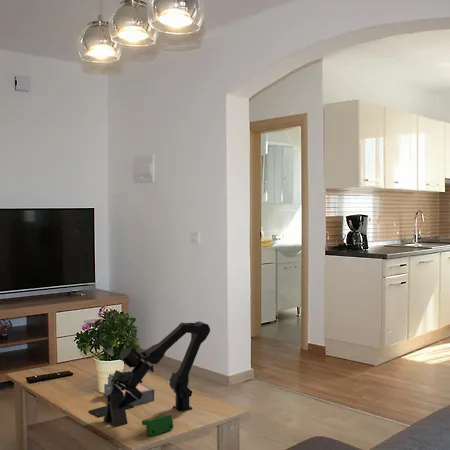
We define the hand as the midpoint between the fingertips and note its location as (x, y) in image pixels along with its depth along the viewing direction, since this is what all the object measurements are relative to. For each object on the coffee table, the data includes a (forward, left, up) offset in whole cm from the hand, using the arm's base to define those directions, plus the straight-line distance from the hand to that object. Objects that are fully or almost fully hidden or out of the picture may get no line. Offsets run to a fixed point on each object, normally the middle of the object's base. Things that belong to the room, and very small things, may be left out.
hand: (113, 405), depth 234 cm
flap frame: (+24, -20, -7) cm, 32 cm away
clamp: (-18, -10, -8) cm, 22 cm away
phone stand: (0, -1, -7) cm, 7 cm away
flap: (+24, -20, -7) cm, 32 cm away
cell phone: (+14, -6, -8) cm, 18 cm away
